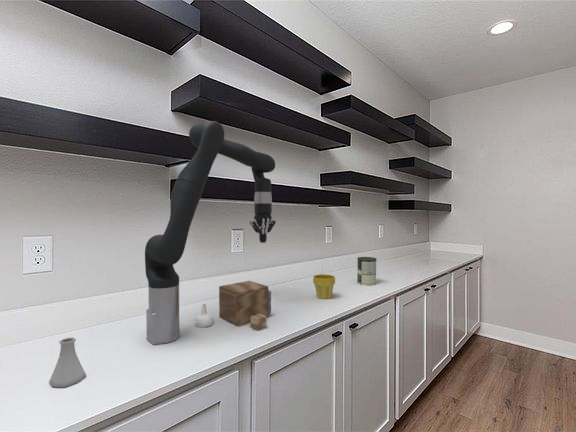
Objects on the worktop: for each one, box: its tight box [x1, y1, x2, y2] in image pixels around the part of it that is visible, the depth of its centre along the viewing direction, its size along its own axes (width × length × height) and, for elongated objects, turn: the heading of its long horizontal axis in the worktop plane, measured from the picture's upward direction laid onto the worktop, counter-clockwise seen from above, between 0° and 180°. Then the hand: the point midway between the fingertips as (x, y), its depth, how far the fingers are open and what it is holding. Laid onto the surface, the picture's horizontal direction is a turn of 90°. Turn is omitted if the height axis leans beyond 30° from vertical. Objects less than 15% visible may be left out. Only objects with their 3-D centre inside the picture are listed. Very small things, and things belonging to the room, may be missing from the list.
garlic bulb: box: [194, 302, 214, 328], centre depth 115 cm, size 6×6×8 cm
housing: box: [218, 280, 269, 327], centre depth 122 cm, size 14×12×12 cm
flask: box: [49, 336, 87, 388], centre depth 78 cm, size 7×7×10 cm
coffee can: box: [356, 256, 377, 287], centre depth 177 cm, size 10×10×14 cm
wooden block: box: [250, 314, 268, 332], centre depth 112 cm, size 4×4×4 cm
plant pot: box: [312, 273, 336, 300], centre depth 150 cm, size 10×10×10 cm
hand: (263, 242), depth 139 cm, fingers closed
